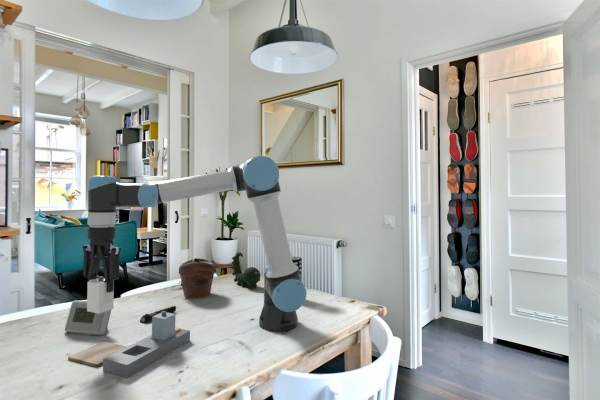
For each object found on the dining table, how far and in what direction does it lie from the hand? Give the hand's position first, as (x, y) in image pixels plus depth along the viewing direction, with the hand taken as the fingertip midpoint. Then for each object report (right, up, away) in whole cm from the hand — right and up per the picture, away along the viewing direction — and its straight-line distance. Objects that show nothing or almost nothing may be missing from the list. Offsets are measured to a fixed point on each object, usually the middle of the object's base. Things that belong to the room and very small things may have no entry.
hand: (100, 301), depth 106 cm
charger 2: (+17, -15, +6) cm, 24 cm away
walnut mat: (0, -17, 0) cm, 17 cm away
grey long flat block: (+15, -17, +1) cm, 23 cm away
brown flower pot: (+10, -16, +66) cm, 69 cm away
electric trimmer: (+4, -17, +33) cm, 38 cm away
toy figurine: (+32, -17, +84) cm, 92 cm away
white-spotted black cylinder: (+58, -17, +61) cm, 86 cm away
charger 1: (0, -3, 0) cm, 3 cm away
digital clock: (-14, -17, +17) cm, 28 cm away
